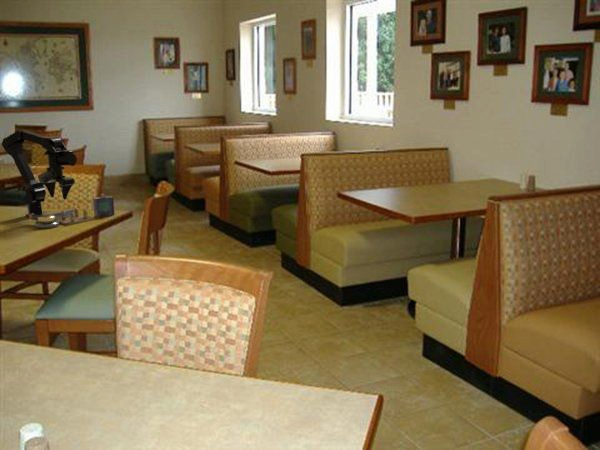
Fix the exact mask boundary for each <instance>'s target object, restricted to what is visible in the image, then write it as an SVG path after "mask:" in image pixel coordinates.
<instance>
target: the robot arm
mask: <svg viewBox="0 0 600 450" xmlns="http://www.w3.org/2000/svg"><path fill="white" fill-rule="evenodd" d="M26 141H28V142H31V143H34V144H37V145H40V146H41V147H42V149H45V150H46V151H45V152H44V153H43V155H44V156H47V160H48V166H47V167H46V170H45V171H44V172H42V173H40V174H38V175H37V178H38V181H37V179H36V178H35V176H34V173H33V171H32V169H31V167H30V165H29V162H28V161H27V158H26V157H25V155H24V145H23V144H24V143H25V142H26ZM1 146H2V148H3V149H4V151H5V152H6V154H8V155H9V156H10V157H11V158H12V159H13V161H14V164H15V166H16V167H17V170H18V172H19V174H20V176H21V178H22V180H23V182H24V185H25V187H24V192H25V196H24V197H23V198H22V201H21V202H22V203H23V204H24V205H27V212H28V213H27V214H25V216H26V217H29V215H30V214H38V215H41V214H43V207H42V202H43V203H45V201H46V200H45V199H46V196H47V191H48V194H49V195H50V197H51V198H54V196H55V193H56V192H55V190H56V185H57V184H56V183H58V184H59V185H58V187H59V188H60V189H61V192H62V193H61V194H62V199H63V200H66V199H67V197H68V195H69V193H70V190H71V188H72V186H74V185H75V184H76V183H75V178H73V177H68V176H67V177H66V175H64V171H63V170H65V166H66V167H67V166H69V167H75V165H76V164H77V162H78V158H77V155H76V154H75V153H74V151H73V150H68V149H67V148H68V147H66V145H65V143H64V142H63V140H62V138H61V137H59V136H48V135H47V136H46V135H43V134H39V133H36V132H34V131H31V130H27V129H18V130H16V131H15V132H13V133H12V134H9V135H8V136H6V137H4V138H2V141H1ZM45 187H46V188H45ZM46 190H47V191H46Z"/></svg>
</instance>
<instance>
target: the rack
mask: <svg viewBox="0 0 600 450" xmlns="http://www.w3.org/2000/svg"><path fill="white" fill-rule="evenodd" d="M73 210H74V212H71V213H70V215H71V217H67V218H66V216H65V211H63V210H60V211H61V213H62V219H58V220H56V221H59V225H64V226H71V225H77V224H80V223H85V222H90V221H94V220H95V216H94V217H93V216H89V215H88V209H83V210H82V211H83V212H82V213H83V215H82V214H81V215H79V208H78V207H75V208H73ZM74 213H75V216H74Z"/></svg>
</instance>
